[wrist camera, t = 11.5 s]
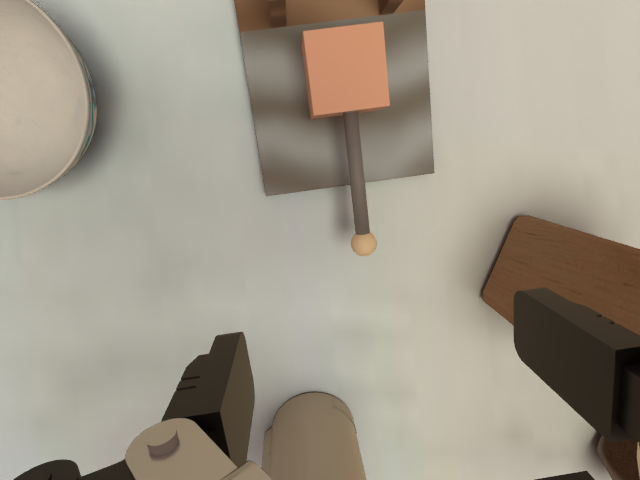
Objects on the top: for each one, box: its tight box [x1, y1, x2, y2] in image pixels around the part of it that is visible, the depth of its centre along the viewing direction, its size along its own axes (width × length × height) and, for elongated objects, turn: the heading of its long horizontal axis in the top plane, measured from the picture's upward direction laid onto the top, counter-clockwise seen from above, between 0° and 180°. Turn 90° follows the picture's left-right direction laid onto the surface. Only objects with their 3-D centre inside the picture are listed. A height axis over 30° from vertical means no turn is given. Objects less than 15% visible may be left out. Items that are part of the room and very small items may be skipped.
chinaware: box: [0, 0, 97, 200], centre depth 31 cm, size 15×15×8 cm
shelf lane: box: [234, 0, 434, 196], centre depth 31 cm, size 26×16×9 cm, turn 7°
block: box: [482, 216, 640, 335], centre depth 32 cm, size 10×10×20 cm
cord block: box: [301, 22, 390, 256], centre depth 34 cm, size 18×6×5 cm, turn 7°
